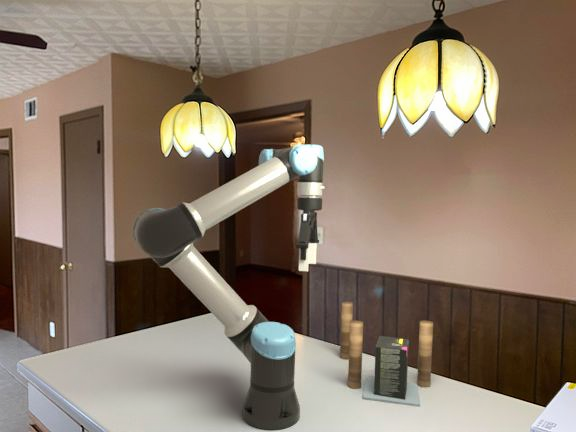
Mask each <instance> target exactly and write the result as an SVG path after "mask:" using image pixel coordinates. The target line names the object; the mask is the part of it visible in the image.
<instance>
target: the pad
mask: <svg viewBox="0 0 576 432" xmlns="http://www.w3.org/2000/svg"><path fill="white" fill-rule="evenodd" d="M374 379H375V377H374V378H372V377H365V378H364V383H363V392H362V399H363V400H367V401H374V402H382V403H389V404H397V405H405V406H413V407H419V406H420V407H421V403H420V401H421V400H420V393H419V386H418V385H417V382H416V383H414V382H407V391H406V398H405V399H401V398H395V397H389V396H383V395H377V394H374Z"/></svg>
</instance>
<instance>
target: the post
mask: <svg viewBox="0 0 576 432" xmlns="http://www.w3.org/2000/svg"><path fill="white" fill-rule="evenodd" d="M433 331H434V322H433V321H430V320H425V319H424V320H420V321H419V332H418V333H419V334H418V350H417V351H418V352H417V354H418V355H417V373H416V376H417V378H416V379H417V380H416V384H417V386H418V387H419V386H420V387H419V388H422V387H429V388H430V387H431V380H432V379H431V376H432V359H433V358H432V357H433V356H432V354H433V335H434V332H433Z"/></svg>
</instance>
